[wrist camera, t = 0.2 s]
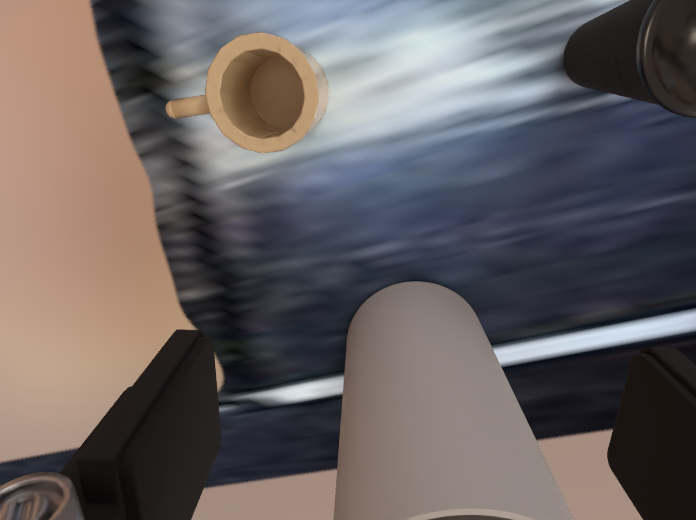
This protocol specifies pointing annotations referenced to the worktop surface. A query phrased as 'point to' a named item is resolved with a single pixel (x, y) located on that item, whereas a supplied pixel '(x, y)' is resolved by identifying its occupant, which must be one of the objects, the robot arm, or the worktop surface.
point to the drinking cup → (639, 53)
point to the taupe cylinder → (434, 419)
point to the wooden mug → (260, 93)
